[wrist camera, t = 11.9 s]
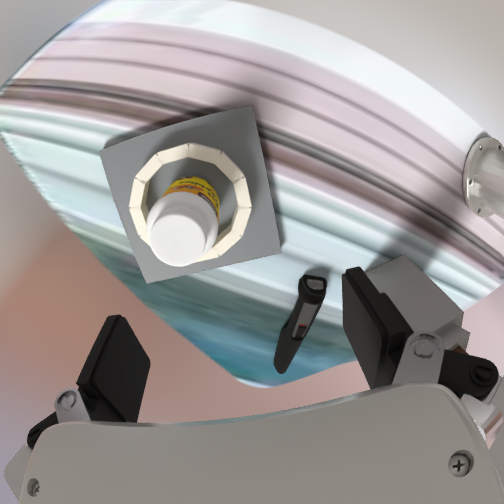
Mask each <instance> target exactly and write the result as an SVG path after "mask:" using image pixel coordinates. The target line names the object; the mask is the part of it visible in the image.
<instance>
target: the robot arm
mask: <svg viewBox="0 0 504 504" xmlns="http://www.w3.org/2000/svg"><path fill="white" fill-rule="evenodd" d="M463 191H464V196H465V200H466V203H467V205H468V207H469V209H470V210H471V211H472V212H473V213H474V214H476V215H477V216H479V217H489V216H491V215H492V214H496V215H498V216H499V217H501V218H503V219H504V148H503V146H502V144H501V143H500V142H499V141H498V140H496V139H494V138H490V137H483V138H480V139H479V140H478V141H476V143H475V144H474V145H473V146H472V148H471V150H470V152H469V154H468V157H467V159H466V163H465V167H464V174H463ZM342 298H343V327H344V331H345V333H346V335H347V337H348V340H349V342H350V344H351V346H352V348H353V350H354V353H355V355H356V357H357V359H358V362H359V364H360V366H361V368H362V371H363V373H364V375H365V377H366V380H367V382H368V384H369V386H370V389H371V390H367V391H364V392H359V393H356V394H352V395H349V396H345V397H341V398H337V399H333V400H329V401H325V402H321V403H316V404H312V405H308V406H303V407H299V408H294V409H289V410H283V411H278V412H273V413H266V414H260V415H253V416H246V417H238V418H230V419H221V420H209V421H195V422H174V423H137V419H138V415H139V411H140V406H141V402H142V397H143V393H144V389H145V385H146V381H147V377H148V373H149V369H150V359H149V357H148V356H147V354H146V353H145V351H144V349H143V348H142V346H141V344H140V343H139V341H138V339H137V337H136V336H135V334H134V332H133V330H132V329H131V327H130V326H129V323H128V322H127V320H126V318H125V317H122V316H121V315H112V316H108V317H107V319H106V321H105V323H104V325H103V327H102V329H101V331H100V333H99V335H98V337H97V339H96V341H95V343H94V345H93V347H92V349H91V351H90V353H89V355H88V358H87V360H86V362H85V364H84V366H83V369H82V371H81V373H80V375H79V378H78V380H77V382H76V384H77V385H78V386H79V388H78V390H77V389H75V388H67V389H65V390H63V391H62V392H61V393H60V394H59V395H58V396H57V398H56V400H55V405H54V406H55V412H54V413H53V414H51V415H50V416H48V417H47V418H45V419H44V420H43V421H41V422H40V423H38V424H37V425H35V426H34V427H33V428H32V429H31V430H30V431H29V434H28V437H27V444H28V446H27V445H26V444H24V445H23V447H22V448H21V449H20V450H19V451H18V453H17V454H16V455H15V456H14V457H13V459H12V460H11V461H10V462H9V463H8V465H7V466H6V468H5V471H4V476H5V479H6V481H7V483H8V485H9V486H10V488H11V490H12V491H13V493H14V495H15V496H16V498H17V499H18V501H19V503H18V504H504V377H501V376H499V373H498V370H497V367H496V366H495V365H494V364H493V363H492V362H491V361H489V360H487V359H484V358H480V357H475V356H471V355H467V354H463V353H459V352H455V351H451V350H447V349H444V342H443V340H442V339H441V338H440V336H438V335H437V334H435V333H433V332H430V331H419V332H416V333H415V332H414V331H413V330H412V328H411V327H410V325H409V324H408V323H407V321H406V320H405V318H404V317H403V316H402V314H401V313H400V311H399V310H398V309H397V307H396V306H395V305H394V303H393V302H392V301H391V299H390V298H389V297H388V295H387V294H386V293H384V292H383V293H380V292H379V291H378V290H377V288H376V287H375V286H374V284H373V283H372V282H371V280H370V279H369V278H368V276H367V275H366V274H365V272H364V271H363V270H362V269H361V267H354V268H350V269H347V270H346V273H345V274H342ZM473 419H474V420H475V421H476V422H474V420H473ZM476 424H477V425H478V426H480V427H481V428H482V429H483V430H484V432H485V435H486V440H485V441H484V439H483V437H482V435H481V433H480V431H479V429H478V427H477V425H476Z"/></svg>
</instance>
